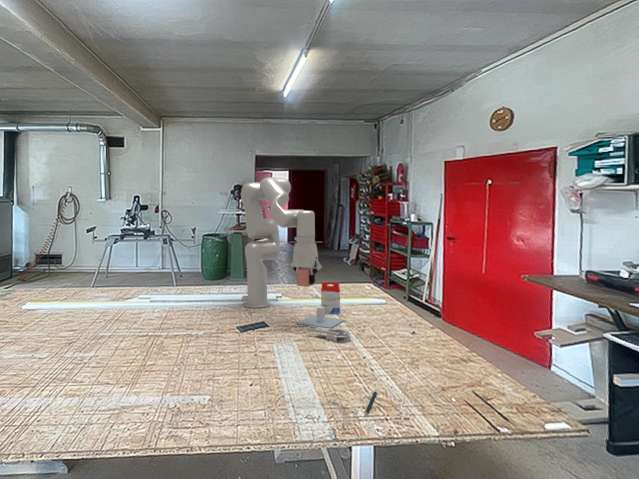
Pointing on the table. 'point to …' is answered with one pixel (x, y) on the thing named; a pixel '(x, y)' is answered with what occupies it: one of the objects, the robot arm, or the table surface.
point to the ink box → (330, 297)
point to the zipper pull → (333, 333)
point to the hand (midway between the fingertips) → (305, 282)
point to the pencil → (370, 403)
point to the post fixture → (320, 320)
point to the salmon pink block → (303, 277)
